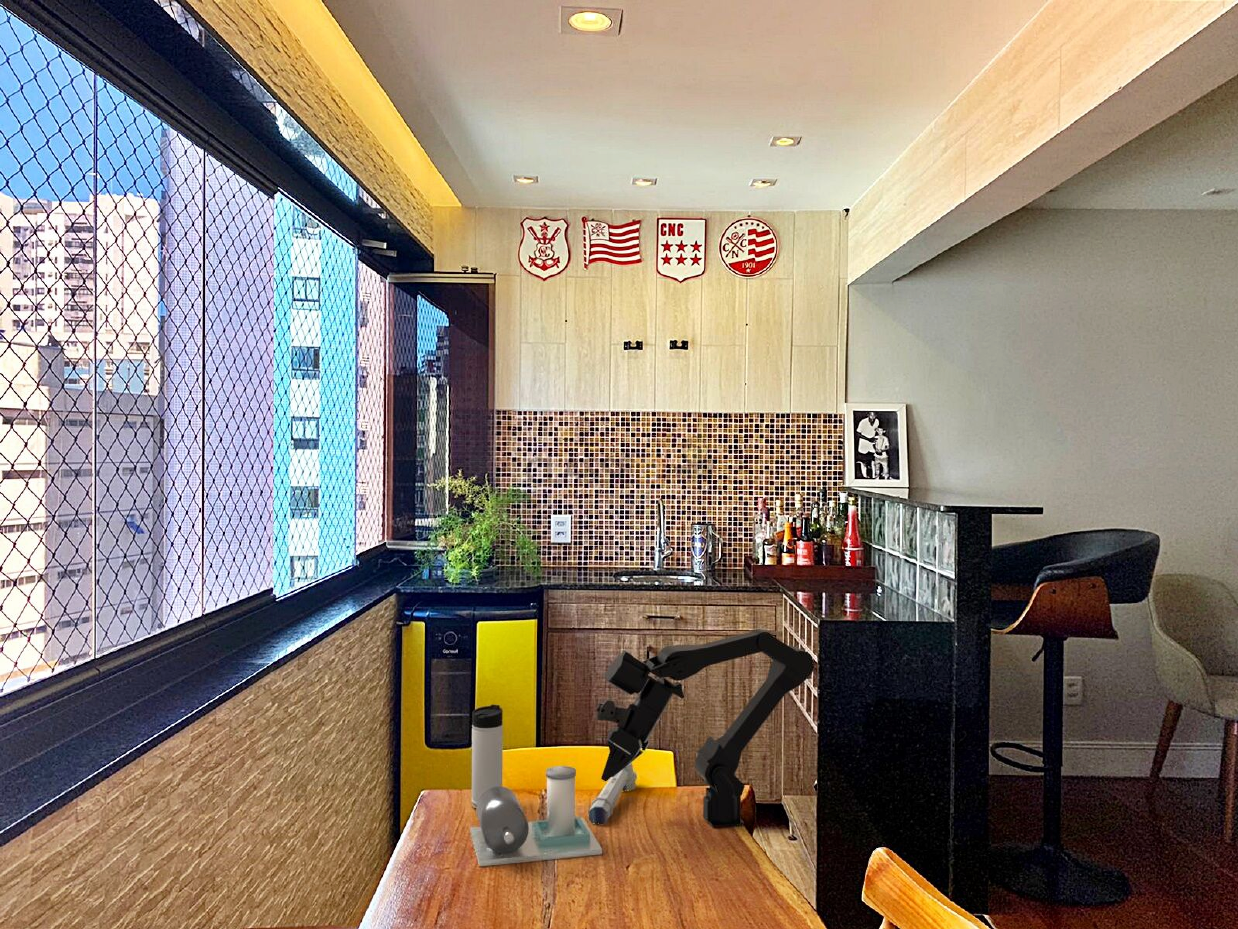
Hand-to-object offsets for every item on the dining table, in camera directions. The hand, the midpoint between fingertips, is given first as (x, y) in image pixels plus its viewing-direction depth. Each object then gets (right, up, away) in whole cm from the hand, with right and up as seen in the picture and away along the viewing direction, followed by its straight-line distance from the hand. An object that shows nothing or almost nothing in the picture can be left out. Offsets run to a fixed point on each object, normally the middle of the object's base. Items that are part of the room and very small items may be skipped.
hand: (607, 778), depth 182 cm
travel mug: (-25, -10, +14) cm, 30 cm away
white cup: (-9, -9, -5) cm, 13 cm away
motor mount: (-13, -10, -7) cm, 18 cm away
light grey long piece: (+1, -11, +15) cm, 19 cm away
